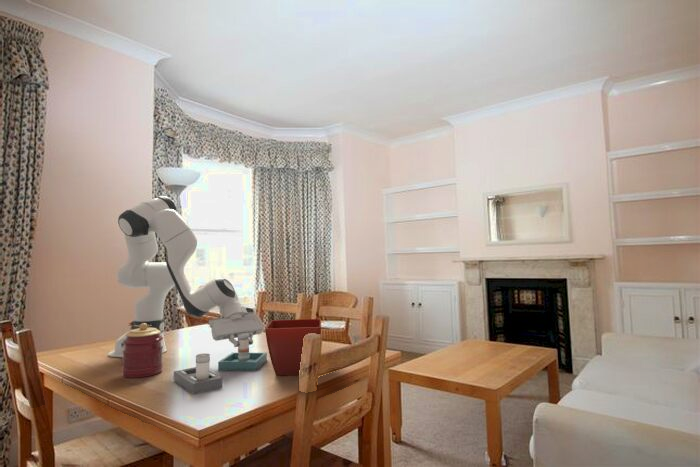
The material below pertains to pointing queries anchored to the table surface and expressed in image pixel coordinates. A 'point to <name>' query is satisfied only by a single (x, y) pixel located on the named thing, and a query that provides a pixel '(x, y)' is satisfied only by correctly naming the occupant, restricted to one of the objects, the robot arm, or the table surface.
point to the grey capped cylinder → (243, 347)
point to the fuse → (202, 366)
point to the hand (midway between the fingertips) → (244, 344)
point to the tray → (242, 362)
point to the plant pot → (288, 343)
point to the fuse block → (191, 384)
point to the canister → (142, 352)
